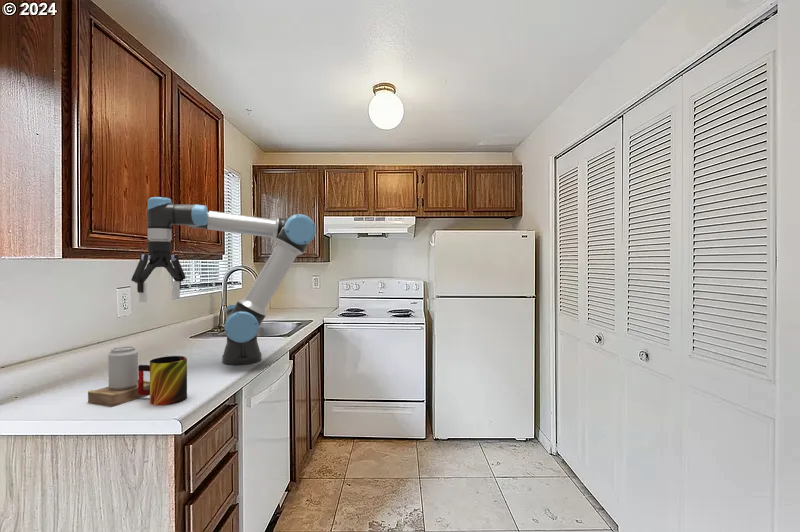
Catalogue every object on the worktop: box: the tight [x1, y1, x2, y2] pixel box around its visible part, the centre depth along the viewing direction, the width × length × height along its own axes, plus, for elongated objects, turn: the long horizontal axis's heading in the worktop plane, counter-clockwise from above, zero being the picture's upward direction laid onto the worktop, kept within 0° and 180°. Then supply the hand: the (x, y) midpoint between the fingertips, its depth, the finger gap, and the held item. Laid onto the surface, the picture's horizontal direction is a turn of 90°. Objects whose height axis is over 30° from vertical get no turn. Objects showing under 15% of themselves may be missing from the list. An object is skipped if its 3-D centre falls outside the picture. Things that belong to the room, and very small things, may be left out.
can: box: [107, 345, 139, 390], centre depth 131 cm, size 8×8×12 cm
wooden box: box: [87, 379, 150, 407], centre depth 131 cm, size 14×10×3 cm
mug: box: [138, 355, 188, 406], centre depth 128 cm, size 10×14×12 cm
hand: (160, 300), depth 157 cm, fingers open, 13 cm apart
